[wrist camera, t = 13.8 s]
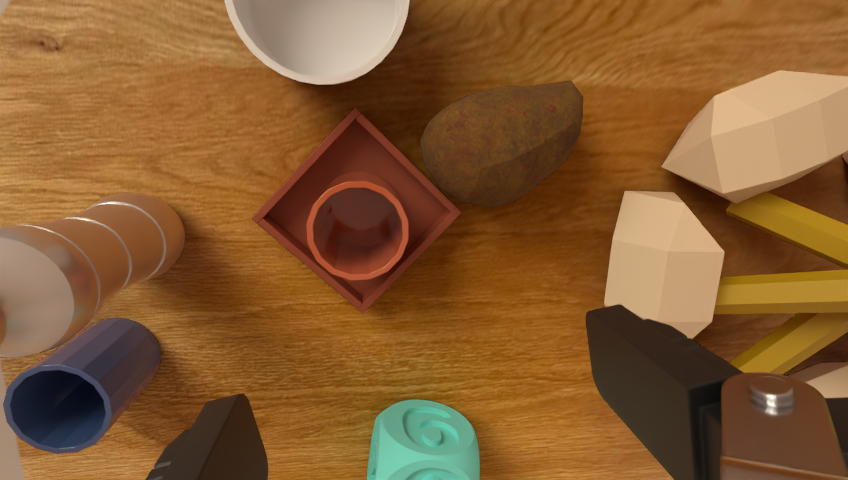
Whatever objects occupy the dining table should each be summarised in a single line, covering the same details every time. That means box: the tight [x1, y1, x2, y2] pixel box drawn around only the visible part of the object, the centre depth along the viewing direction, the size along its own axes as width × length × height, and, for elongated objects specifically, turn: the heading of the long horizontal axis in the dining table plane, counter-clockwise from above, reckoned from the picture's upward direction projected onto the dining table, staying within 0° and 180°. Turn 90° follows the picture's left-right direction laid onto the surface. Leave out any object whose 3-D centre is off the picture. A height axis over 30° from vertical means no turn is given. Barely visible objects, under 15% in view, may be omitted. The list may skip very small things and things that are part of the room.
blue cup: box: [3, 318, 161, 454], centre depth 35 cm, size 6×6×8 cm
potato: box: [420, 81, 583, 207], centre depth 34 cm, size 8×12×9 cm
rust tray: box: [252, 108, 462, 313], centre depth 37 cm, size 11×11×2 cm
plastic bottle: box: [0, 193, 185, 358], centre depth 27 cm, size 6×7×20 cm
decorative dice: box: [367, 400, 480, 480], centre depth 40 cm, size 8×8×8 cm
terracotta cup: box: [306, 171, 409, 280], centre depth 34 cm, size 6×6×8 cm
